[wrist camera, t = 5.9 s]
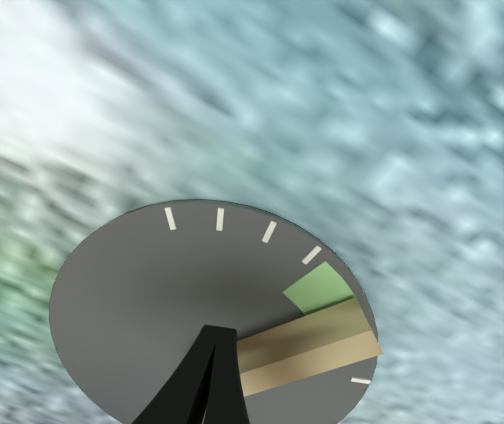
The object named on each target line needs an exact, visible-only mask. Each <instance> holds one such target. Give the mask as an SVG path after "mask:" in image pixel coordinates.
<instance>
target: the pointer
mask: <svg viewBox="0 0 504 424" xmlns="http://www.w3.org/2000/svg"><path fill="white" fill-rule="evenodd" d="M381 354H383V352H382V350H381V348H380V346H379V344H378V342H377V340H376V338H375V336H374V333H373V331H372V329H371V327H370V325H369V323H368V321H367V319H366V317H365V315H364V313H363V311H362V309H361V307H360V305H359V303H358V301H357V299H356V298H353V299H350V300H347V301H345V302H342V303H339V304H337V305H334V306H331V307H329V308H326V309H323V310H320V311H318V312H315V313H312V314H310V315H307V316H304V317H301V318H299V319H296V320H293V321H291V322H288V323H285V324H283V325H280V326H277V327H274V328H272V329H269V330H266V331H264V332H261V333H258V334H256V335H253V336H250V337H247V338H245V339H242V340H239V341H237V356H238V365H239V372H240V378H241V384H242V390H243V395H244V397H245V396H248V395H252V394H255V393H258V392H261V391H265V390H268V389H271V388H274V387H278V386H281V385H284V384H287V383H290V382H294V381H297V380H300V379H303V378H307V377H310V376H313V375H316V374H320V373H323V372H326V371H329V370H333V369H336V368H339V367H342V366H345V365H349V364H352V363H355V362H358V361H362V360H365V359H368V358H371V357H375V356H378V355H381ZM205 413H206V412H205ZM204 417H205V415H204ZM203 420H204V419H203Z"/></svg>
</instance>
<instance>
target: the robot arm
mask: <svg viewBox="0 0 504 424" xmlns="http://www.w3.org/2000/svg"><path fill="white" fill-rule="evenodd" d="M205 412H206V413H205ZM204 415H205V417H204ZM203 419H204V422H203ZM202 422H203V424H250V421H249V417H248V413H247V409H246V404H245V400H244V395H243V390H242V384H241V378H240V372H239V365H238V356H237V330H236V329H233V328H226V327H219V326H212V325H204V326H203V327H202V329H201V331H200V333H199V335H198V336H197V338H196V340H195V341H194V343H193V345H192V346H191V348H190V349H189V351H188V352H187V354H186V355H185V357H184V358H183V360H182V361H181V363H180V364H179V365H178V367H177V368H176V370H175V371H174V372H173V374H172V375H171V376H170V378H169V379H168V380H167V382H166V383H165V384H164V385H163V387H162V388H161V389H160V390H159V392H158V393H157V394H156V396H155V397H154V398H153V399H152V400H151V402H150V403H149V404H148V405H147V406H146V407H145V409H144V410H143V411H142V412H141V413H140V414H139V415H138V417H137V418H136V419H135V420H134V421H133V422H132V423H131V424H202Z"/></svg>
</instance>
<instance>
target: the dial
mask: <svg viewBox="0 0 504 424" xmlns="http://www.w3.org/2000/svg"><path fill="white" fill-rule="evenodd" d="M353 298H356V299H357V301H358V303H359V305H360V307H361V309H362V311H363V313H364V315H365V317H366V319H367V321H368V323H369V325H370V327H371V329H372V331H373V333H374V336H375V338H376V340H377V342H378V332H377V328H376V324H375V319H374V315H373V312H372V310H371V308H370V305H369V303H368V301H367V298H366V296H365V294H364V292H363V290H362V289H361V287H360V285H359V284H358V282H357V281H356V279H355V277H354V276H353V274H352V273H351V271H350V270H349V268H348V267H347V266H346V265H345V264H344V263H343V262H342V261H341V259H340V258H339V257H338V256H337V255H336V254H335V253H334V252H333V251H332V250H331V249H330V248H328V247H327V246H326V245H325V244H324V243H322V242H321V241H320V240H319V239H318V238H316V237H315V236H313V235H312V234H310V233H309V232H307V231H305V230H304V229H302V228H301V227H299V226H298V225H296V224H294V223H292V222H289V221H287V220H285V219H283V218H281V217H279V216H277V215H275V214H272V213H269V212H266V211H263V210H260V209H257V208H254V207H251V206H246V205H241V204H236V203H231V202H226V201H216V200H202V199H194V200H176V201H169V202H163V203H158V204H153V205H148V206H145V207H143V208H140V209H137V210H134V211H131V212H128V213H126V214H124V215H122V216H120V217H118V218H116V219H114V220H112V221H110V222H108V223H107V224H105V225H104V226H102V227H101V228H99V229H98V230H97V231H95V232H94V233H93V234H91V235H90V236H89V237H87V238H86V239H84V240H83V241H82V242H81V243H80V244H79V245H78V246H77V247H76V248H75V249H74V250H73V252H72V253H71V254H70V255H69V256H68V258H67V259H66V261H65V262H64V264H63V265H62V267H61V268H60V270H59V272H58V275H57V277H56V279H55V282H54V284H53V287H52V292H51V297H50V302H49V322H50V329H51V335H52V338H53V342H54V345H55V348H56V351H57V353H58V355H59V357H60V359H61V361H62V364H63V365H64V367H65V368H66V370H67V372H68V373H69V375H70V376H71V378H72V379H73V380H74V382H75V383H76V384H77V385H78V386H79V388H80V389H81V390H82V391H83V392H84V393H85V394H86V395H87V396H88V397H89V398H90V399H91V400H92V401H93V402H94V403H95V404H96V405H98V406H99V407H100V408H101V409H103V410H104V411H105V412H106V413H108V414H109V415H111V416H112V417H114V418H115V419H117V420H118V421H120V422H121V423H123V424H131V423H132V422H133V421H134V420H135V419H136V418H137V417H138V415H139V414H140V413H141V412H142V411H143V410H144V409H145V407H146V406H147V405H148V404H149V403H150V402H151V400H152V399H153V398H154V397H155V396H156V394H157V393H158V392H159V390H160V389H161V388H162V387H163V385H164V384H165V383H166V382H167V380H168V379H169V378H170V376H171V375H172V374H173V372H174V371H175V370H176V368H177V367H178V365H179V364H180V363H181V361H182V360H183V358H184V357H185V355H186V354H187V352H188V351H189V349H190V348H191V346H192V345H193V343H194V341H195V340H196V338H197V336H198V335H199V333H200V331H201V329H202V327H203V326H204V325H212V326H219V327H226V328H233V329H236V330H237V341H239V340H242V339H245V338H247V337H250V336H253V335H256V334H258V333H261V332H264V331H266V330H269V329H272V328H274V327H277V326H280V325H283V324H285V323H288V322H291V321H293V320H296V319H299V318H301V317H304V316H307V315H310V314H312V313H315V312H318V311H320V310H323V309H326V308H329V307H331V306H334V305H337V304H339V303H342V302H345V301H347V300H350V299H353ZM376 364H377V356H375V357H371V358H368V359H365V360H362V361H358V362H355V363H352V364H349V365H345V366H342V367H339V368H336V369H333V370H329V371H326V372H323V373H320V374H316V375H313V376H310V377H307V378H303V379H300V380H297V381H294V382H290V383H287V384H284V385H281V386H278V387H274V388H271V389H268V390H265V391H261V392H258V393H255V394H252V395H248V396H245V397H244V400H245V404H246V409H247V413H248V417H249V421H250V424H337V423H338V422H339V421H341V420H342V419H343V418H344V417H345V416H346V415H347V414H348V413H350V412H351V411H352V410H353V409H354V408H355V406H356V405H357V404H358V402H359V401H360V400H361V398H362V397H363V396H364V394H365V392H366V390H367V388H368V386H369V384H370V383H371V380H372V377H373V374H374V371H375V368H376ZM203 422H204V420H203ZM203 422H202V424H203Z"/></svg>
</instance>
